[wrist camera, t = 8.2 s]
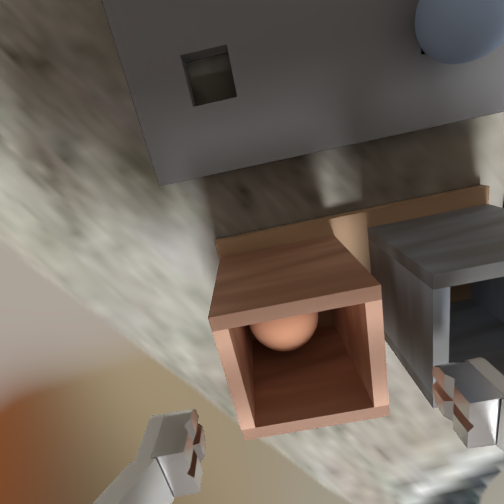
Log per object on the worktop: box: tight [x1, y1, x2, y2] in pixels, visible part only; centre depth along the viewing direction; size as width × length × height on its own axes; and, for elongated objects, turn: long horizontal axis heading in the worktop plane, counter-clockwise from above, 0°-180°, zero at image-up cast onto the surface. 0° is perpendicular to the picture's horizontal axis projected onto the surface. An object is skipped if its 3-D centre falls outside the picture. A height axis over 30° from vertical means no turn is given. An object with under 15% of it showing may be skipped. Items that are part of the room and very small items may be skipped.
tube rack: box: [208, 185, 504, 440], centre depth 15 cm, size 8×14×7 cm, turn 102°
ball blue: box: [415, 0, 504, 64], centre depth 11 cm, size 4×4×4 cm
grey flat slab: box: [102, 0, 504, 186], centre depth 13 cm, size 8×17×1 cm, turn 102°
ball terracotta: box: [250, 312, 318, 351], centre depth 16 cm, size 4×4×4 cm
